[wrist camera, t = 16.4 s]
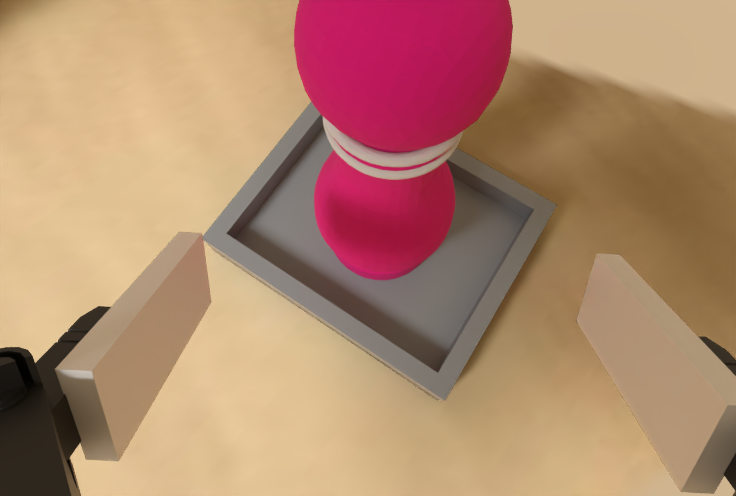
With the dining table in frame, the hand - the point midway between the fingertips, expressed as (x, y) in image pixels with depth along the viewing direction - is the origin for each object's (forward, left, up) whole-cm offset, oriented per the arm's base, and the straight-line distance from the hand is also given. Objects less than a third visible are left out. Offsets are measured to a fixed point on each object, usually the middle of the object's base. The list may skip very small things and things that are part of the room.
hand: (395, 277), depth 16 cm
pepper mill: (-3, +5, -11) cm, 13 cm away
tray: (-3, +5, -12) cm, 14 cm away
